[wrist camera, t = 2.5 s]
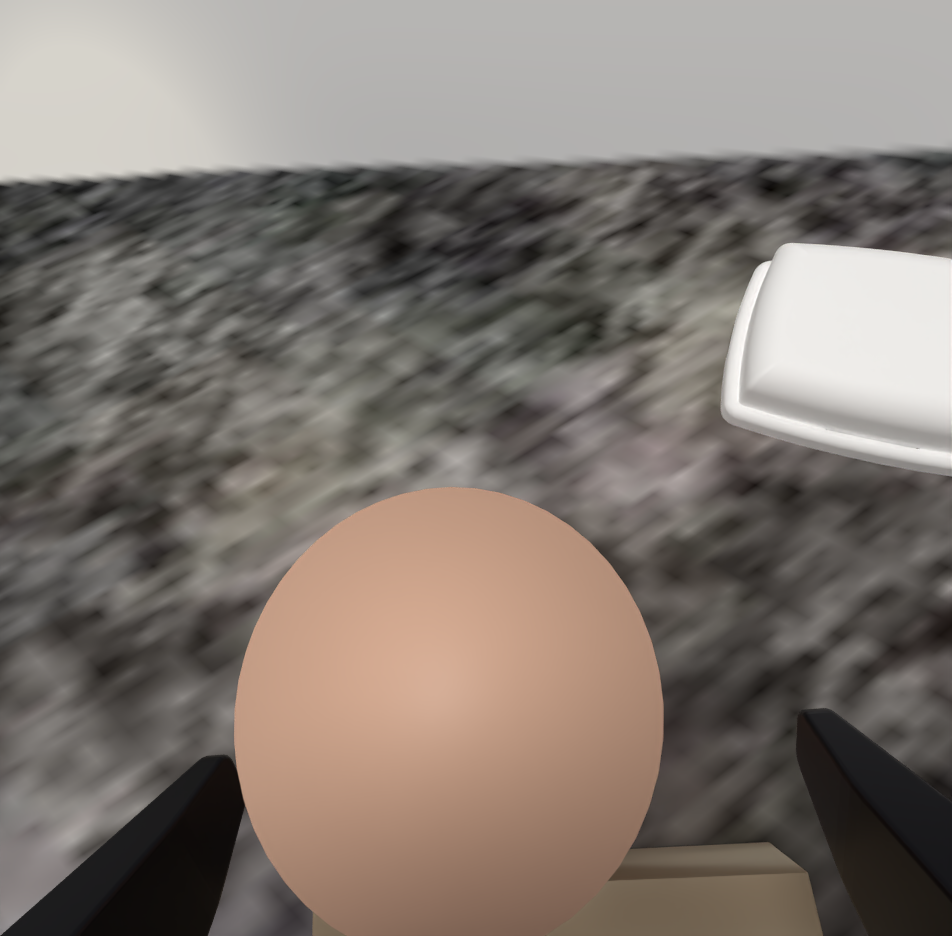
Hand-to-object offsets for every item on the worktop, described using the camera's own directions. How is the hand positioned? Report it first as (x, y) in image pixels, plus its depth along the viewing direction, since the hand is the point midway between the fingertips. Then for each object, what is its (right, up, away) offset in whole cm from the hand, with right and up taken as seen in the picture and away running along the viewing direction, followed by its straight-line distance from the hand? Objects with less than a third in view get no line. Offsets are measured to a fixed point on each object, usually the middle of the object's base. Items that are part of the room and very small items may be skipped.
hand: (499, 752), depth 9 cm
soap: (+13, +8, +10) cm, 18 cm away
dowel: (+1, -2, +8) cm, 9 cm away
